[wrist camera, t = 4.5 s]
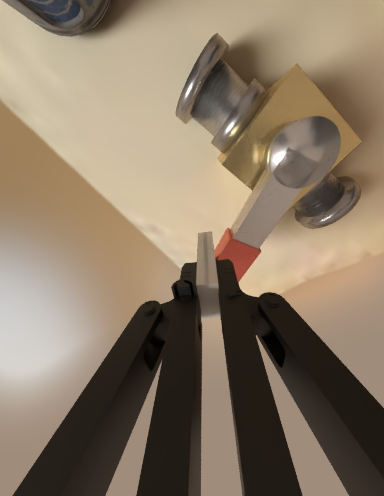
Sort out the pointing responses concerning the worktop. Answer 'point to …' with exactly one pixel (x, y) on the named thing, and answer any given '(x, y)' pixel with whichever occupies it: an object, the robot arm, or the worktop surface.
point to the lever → (280, 185)
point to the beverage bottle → (63, 14)
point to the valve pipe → (265, 127)
